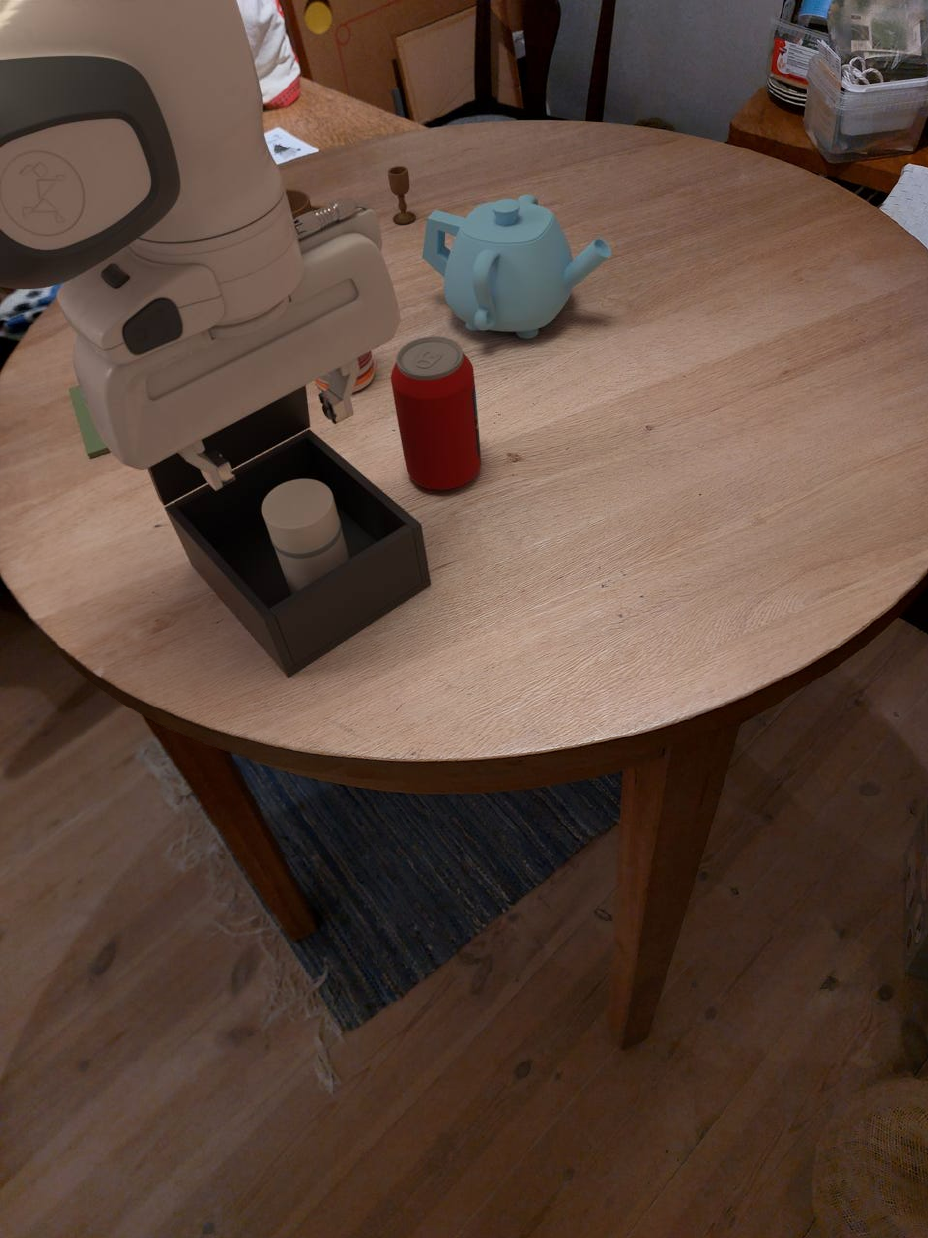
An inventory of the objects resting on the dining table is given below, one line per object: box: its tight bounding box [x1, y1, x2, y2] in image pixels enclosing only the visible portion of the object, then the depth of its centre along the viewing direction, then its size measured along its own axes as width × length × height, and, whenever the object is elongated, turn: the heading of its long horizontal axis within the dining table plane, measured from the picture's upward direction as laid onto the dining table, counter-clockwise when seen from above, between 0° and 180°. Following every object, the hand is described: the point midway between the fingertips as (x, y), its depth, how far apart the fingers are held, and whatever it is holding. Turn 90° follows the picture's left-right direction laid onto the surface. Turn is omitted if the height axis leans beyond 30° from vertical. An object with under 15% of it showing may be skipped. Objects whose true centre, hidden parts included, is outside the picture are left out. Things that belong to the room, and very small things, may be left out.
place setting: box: [285, 165, 416, 225], centre depth 104 cm, size 18×20×6 cm
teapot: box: [421, 194, 612, 339], centre depth 89 cm, size 20×17×12 cm
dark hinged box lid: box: [146, 385, 311, 507], centre depth 63 cm, size 16×14×1 cm
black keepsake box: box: [164, 428, 432, 678], centre depth 69 cm, size 16×14×7 cm
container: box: [262, 479, 350, 595], centre depth 66 cm, size 5×5×9 cm
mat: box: [68, 385, 112, 459], centre depth 88 cm, size 12×12×1 cm
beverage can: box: [390, 336, 482, 491], centre depth 74 cm, size 7×7×12 cm
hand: (281, 448), depth 59 cm, fingers open, 8 cm apart
